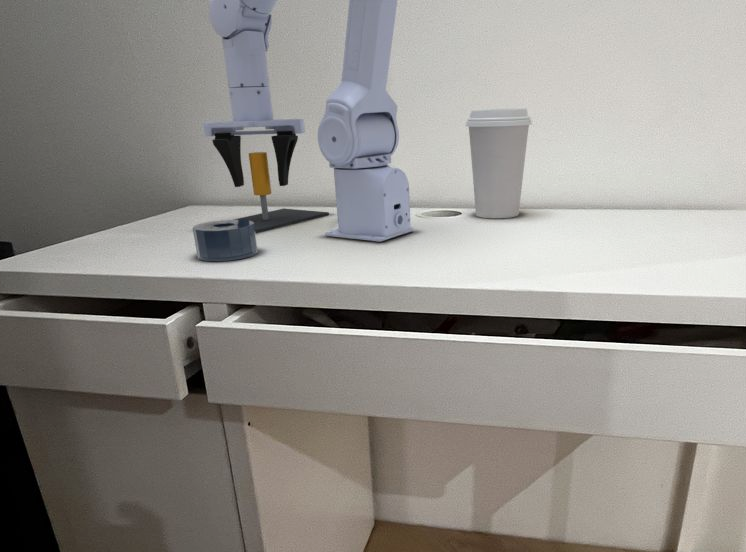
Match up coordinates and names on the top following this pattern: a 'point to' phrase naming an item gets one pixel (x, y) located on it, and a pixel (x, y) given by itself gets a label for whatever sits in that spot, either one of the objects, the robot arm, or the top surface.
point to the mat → (282, 218)
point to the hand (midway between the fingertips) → (261, 185)
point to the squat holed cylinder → (225, 240)
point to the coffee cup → (498, 159)
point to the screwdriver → (260, 179)
